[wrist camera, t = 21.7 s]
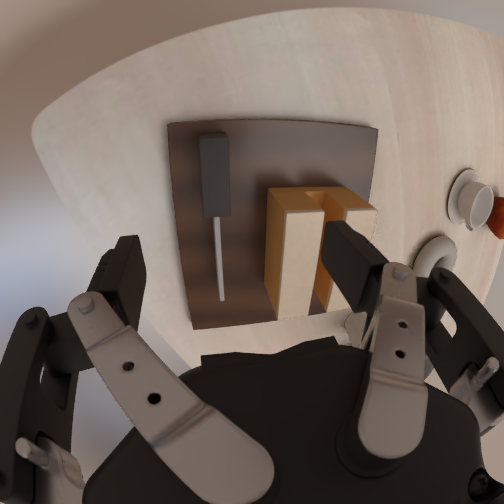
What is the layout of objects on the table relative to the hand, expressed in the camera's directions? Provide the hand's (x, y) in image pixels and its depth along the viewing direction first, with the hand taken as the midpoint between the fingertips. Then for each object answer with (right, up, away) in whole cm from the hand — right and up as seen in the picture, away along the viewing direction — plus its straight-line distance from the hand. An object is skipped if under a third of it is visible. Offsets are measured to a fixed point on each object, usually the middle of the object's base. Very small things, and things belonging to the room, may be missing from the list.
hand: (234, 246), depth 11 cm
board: (+3, +2, +21) cm, 21 cm away
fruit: (+48, +8, +27) cm, 56 cm away
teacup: (+36, +9, +23) cm, 44 cm away
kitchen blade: (-3, +4, +16) cm, 17 cm away
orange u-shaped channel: (+7, +2, +20) cm, 21 cm away
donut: (+31, -1, +29) cm, 43 cm away
